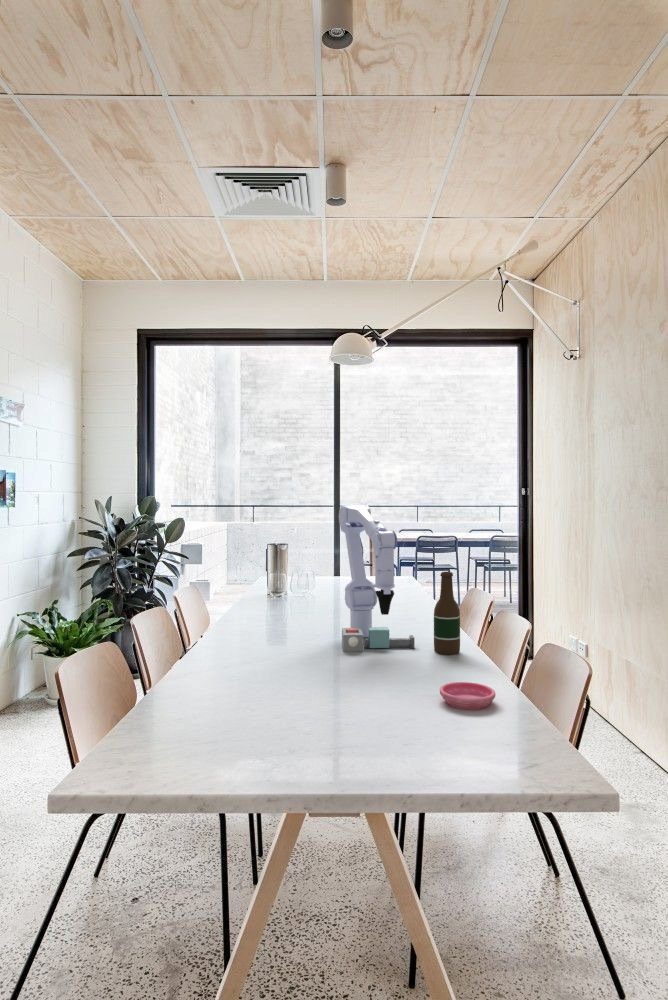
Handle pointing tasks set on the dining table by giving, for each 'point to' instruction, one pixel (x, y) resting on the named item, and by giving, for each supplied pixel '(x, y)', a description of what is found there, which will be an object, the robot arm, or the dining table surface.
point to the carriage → (379, 637)
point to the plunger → (352, 630)
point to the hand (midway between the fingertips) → (384, 614)
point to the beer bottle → (446, 619)
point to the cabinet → (352, 640)
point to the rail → (397, 642)
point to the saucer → (467, 695)
